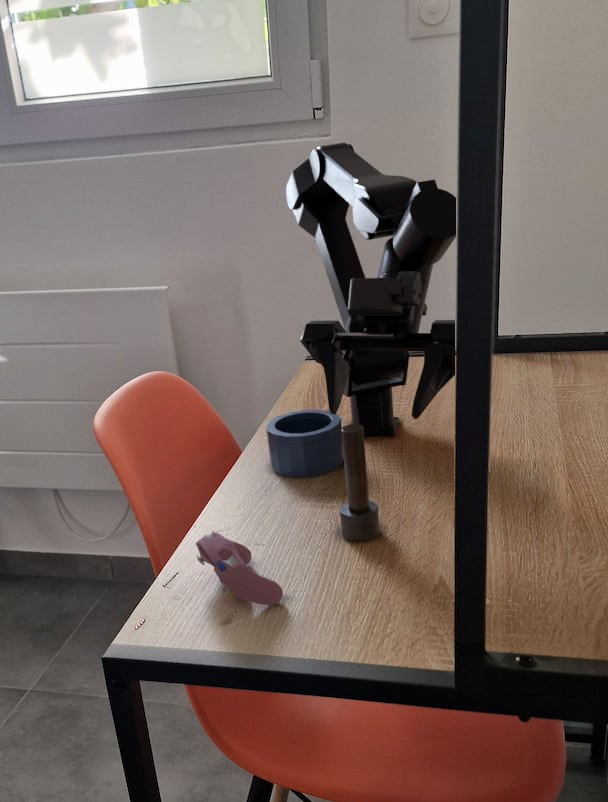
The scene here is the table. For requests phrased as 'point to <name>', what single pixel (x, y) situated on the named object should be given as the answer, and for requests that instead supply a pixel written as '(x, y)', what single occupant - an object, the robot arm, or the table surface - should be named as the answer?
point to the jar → (305, 443)
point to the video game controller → (237, 570)
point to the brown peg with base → (357, 490)
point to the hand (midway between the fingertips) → (372, 415)
